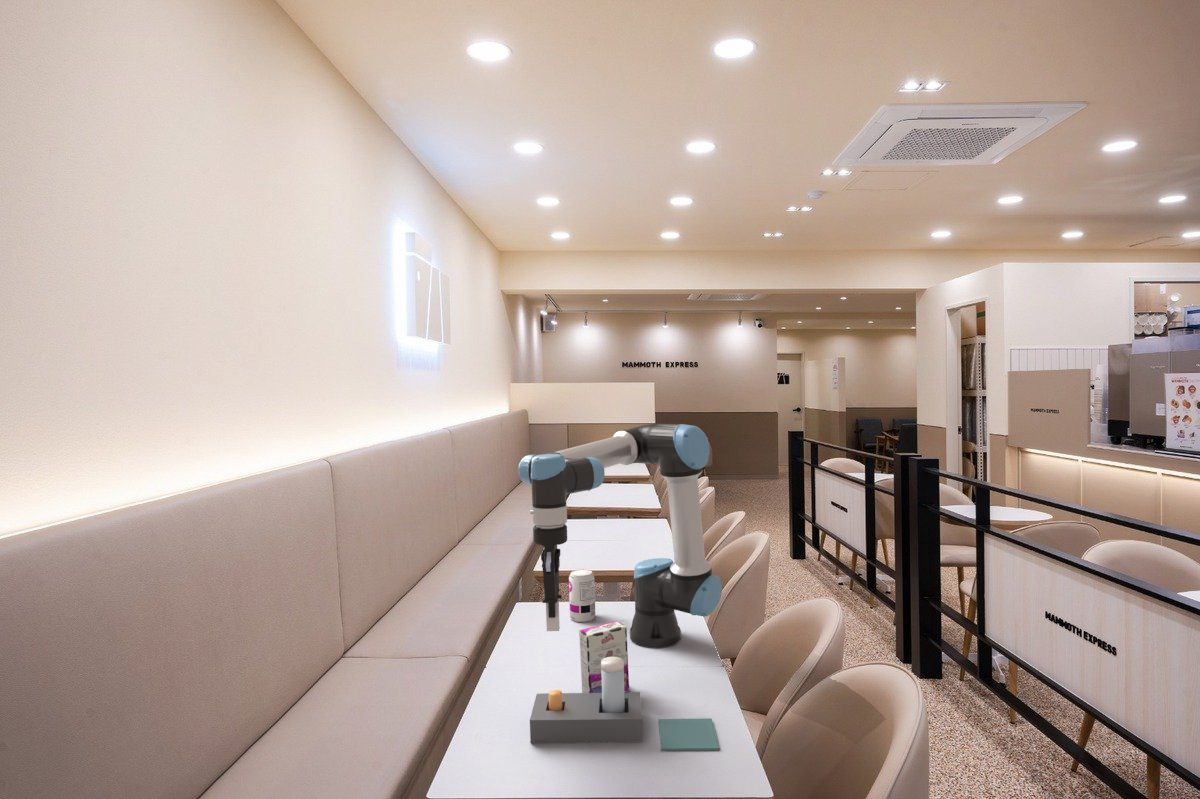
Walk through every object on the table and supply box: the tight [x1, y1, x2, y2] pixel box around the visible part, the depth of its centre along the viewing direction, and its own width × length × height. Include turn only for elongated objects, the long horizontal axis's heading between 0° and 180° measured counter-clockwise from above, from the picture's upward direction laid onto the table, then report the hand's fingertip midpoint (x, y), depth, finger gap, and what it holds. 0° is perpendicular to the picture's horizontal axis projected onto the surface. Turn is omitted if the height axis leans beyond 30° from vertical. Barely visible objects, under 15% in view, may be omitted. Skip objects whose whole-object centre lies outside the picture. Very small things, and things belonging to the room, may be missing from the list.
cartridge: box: [601, 657, 625, 713], centre depth 150 cm, size 5×5×15 cm
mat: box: [657, 717, 720, 752], centre depth 146 cm, size 12×12×1 cm
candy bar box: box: [578, 620, 630, 693], centre depth 166 cm, size 11×5×16 cm, turn 117°
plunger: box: [548, 689, 563, 711], centre depth 150 cm, size 3×3×6 cm
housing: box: [529, 691, 643, 744], centre depth 150 cm, size 24×12×5 cm, turn 88°
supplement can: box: [568, 568, 596, 623], centre depth 217 cm, size 8×8×15 cm
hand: (553, 629), depth 150 cm, fingers closed
